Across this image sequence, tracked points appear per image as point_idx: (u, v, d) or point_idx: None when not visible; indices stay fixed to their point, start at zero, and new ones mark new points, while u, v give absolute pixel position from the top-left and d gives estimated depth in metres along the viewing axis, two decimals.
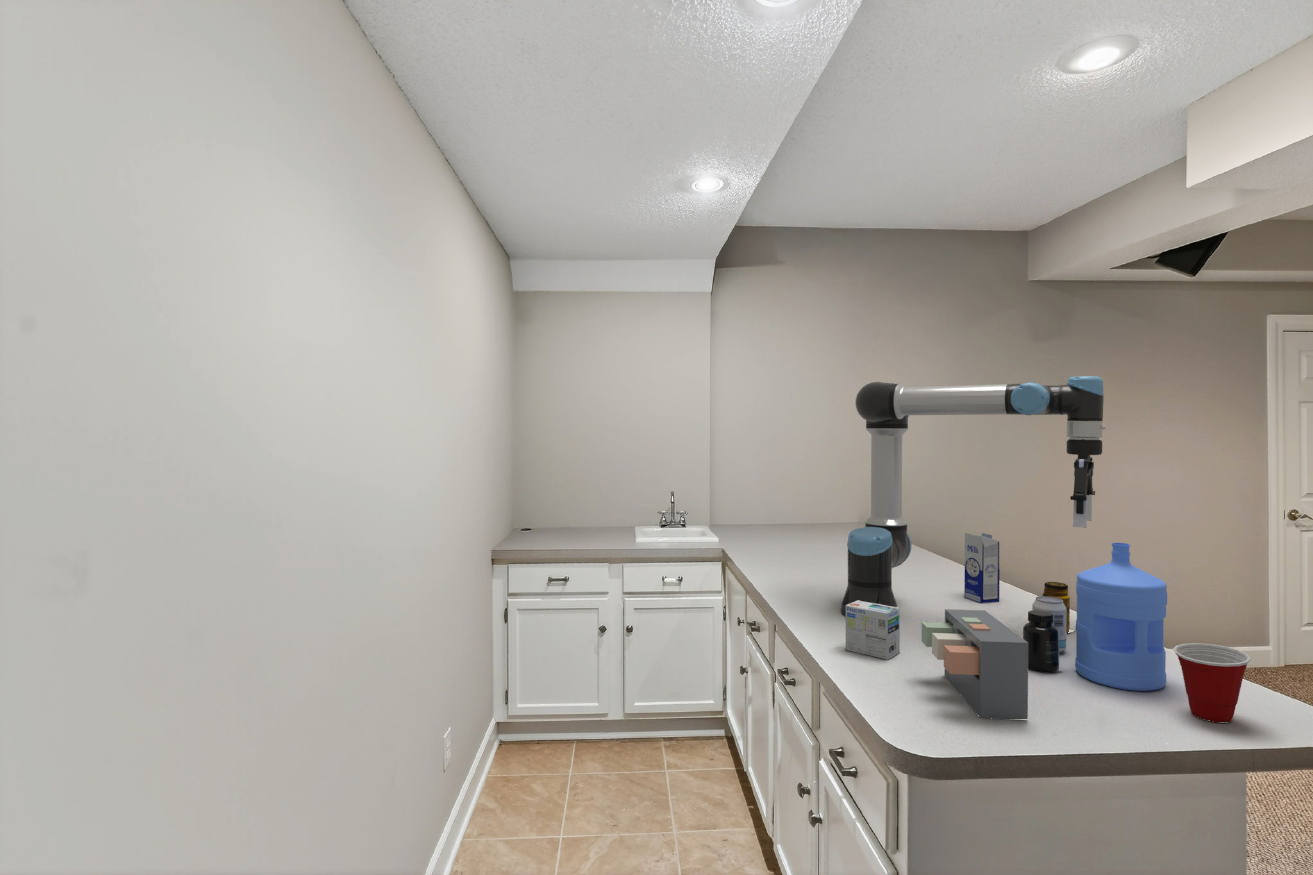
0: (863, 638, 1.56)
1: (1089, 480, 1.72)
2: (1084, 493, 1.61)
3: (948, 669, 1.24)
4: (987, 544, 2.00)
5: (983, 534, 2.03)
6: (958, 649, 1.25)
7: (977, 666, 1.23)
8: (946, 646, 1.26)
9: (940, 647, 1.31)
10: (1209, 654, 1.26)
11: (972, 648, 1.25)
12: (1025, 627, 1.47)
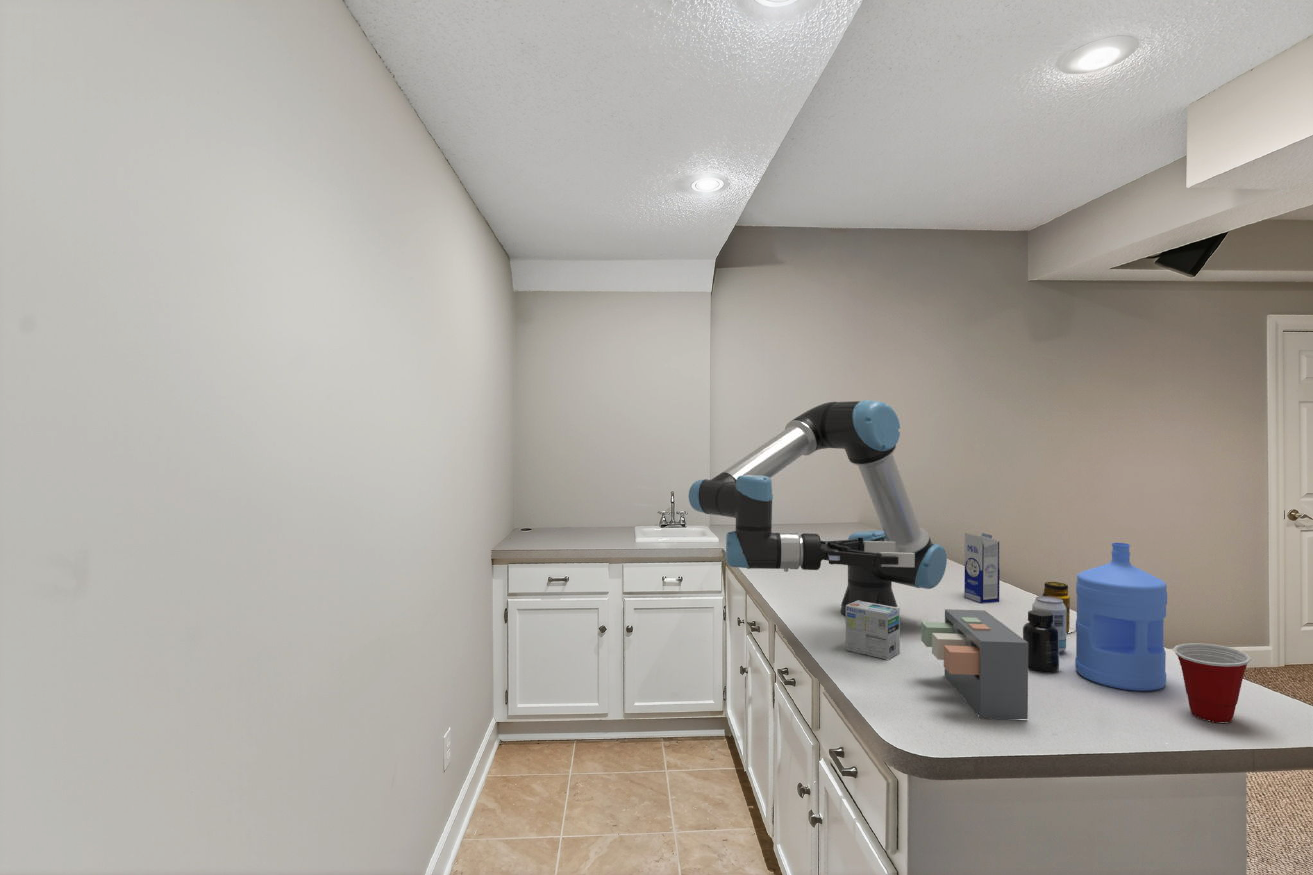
0: (863, 638, 1.56)
1: None
2: None
3: (948, 669, 1.24)
4: (987, 544, 1.99)
5: (983, 534, 2.03)
6: (958, 649, 1.25)
7: (977, 666, 1.23)
8: (946, 646, 1.26)
9: (940, 647, 1.31)
10: (1209, 654, 1.26)
11: (972, 648, 1.25)
12: (1025, 627, 1.47)
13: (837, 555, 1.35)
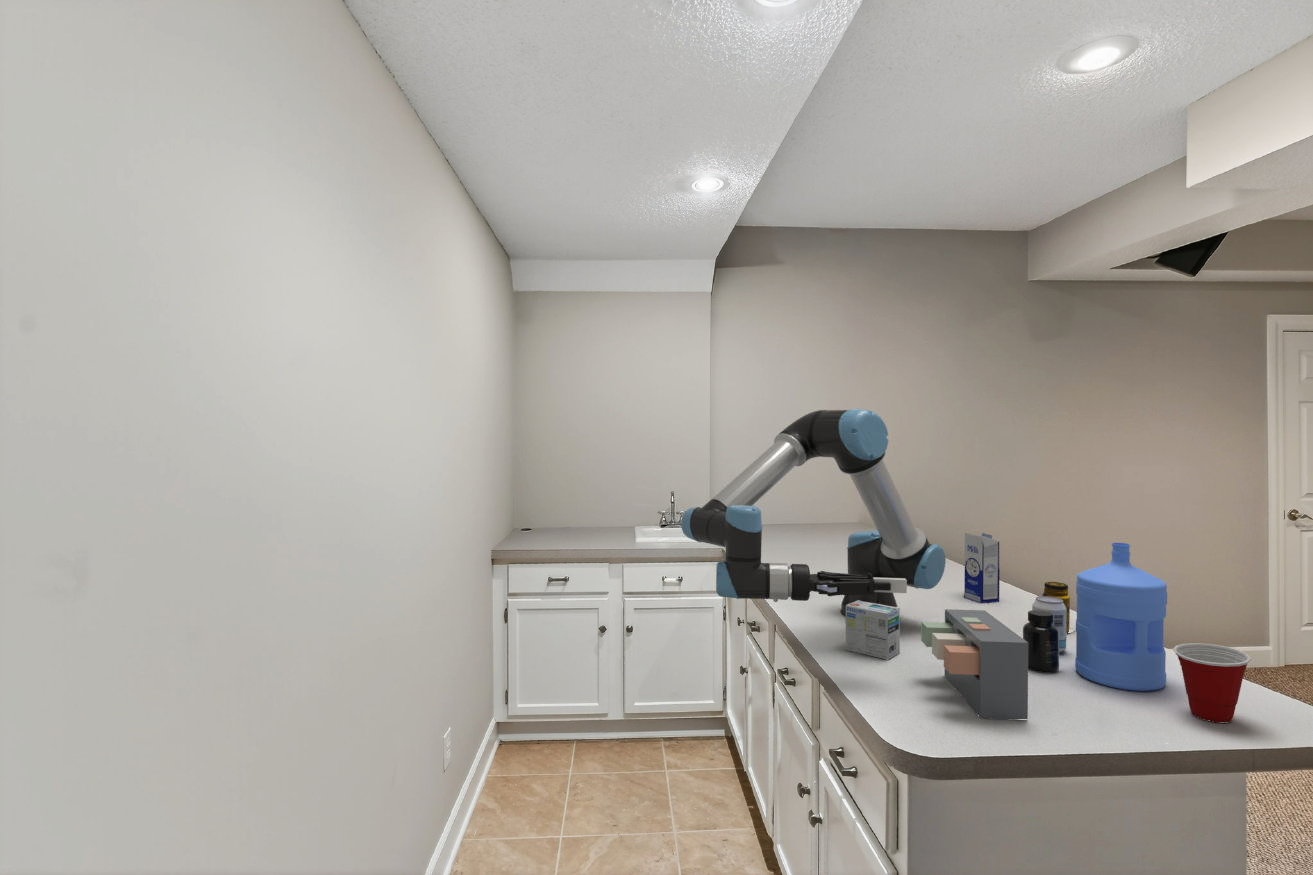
0: (863, 638, 1.56)
1: None
2: None
3: (948, 669, 1.24)
4: (987, 544, 1.99)
5: (983, 534, 2.03)
6: (958, 649, 1.25)
7: (977, 666, 1.23)
8: (946, 646, 1.26)
9: (940, 647, 1.31)
10: (1209, 654, 1.26)
11: (972, 648, 1.25)
12: (1025, 627, 1.47)
13: (836, 586, 1.36)
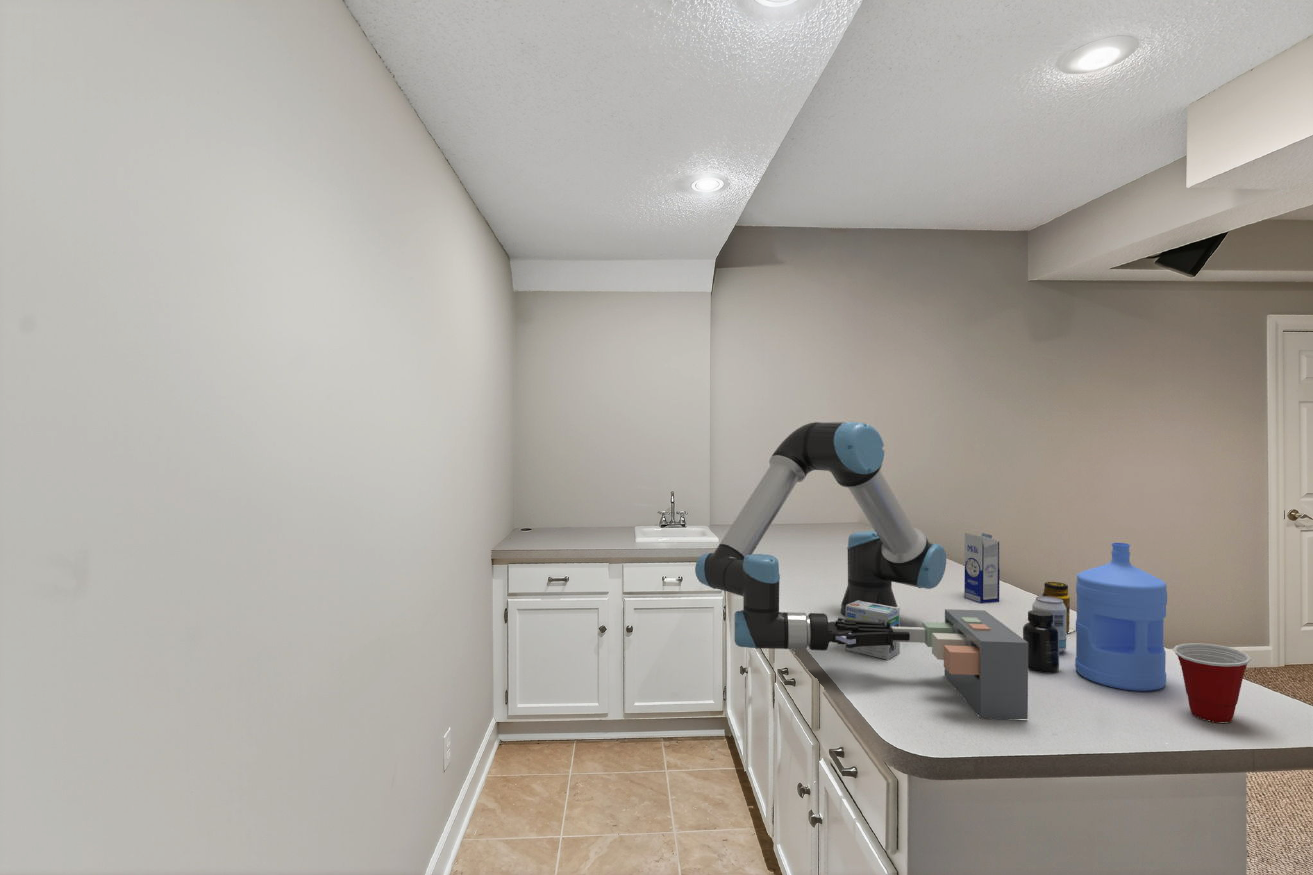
0: None
1: None
2: None
3: (948, 669, 1.24)
4: (987, 544, 1.99)
5: (983, 534, 2.03)
6: (958, 649, 1.25)
7: (977, 666, 1.23)
8: (946, 646, 1.26)
9: (940, 647, 1.31)
10: (1209, 654, 1.26)
11: (972, 648, 1.25)
12: (1025, 627, 1.47)
13: (855, 638, 1.36)
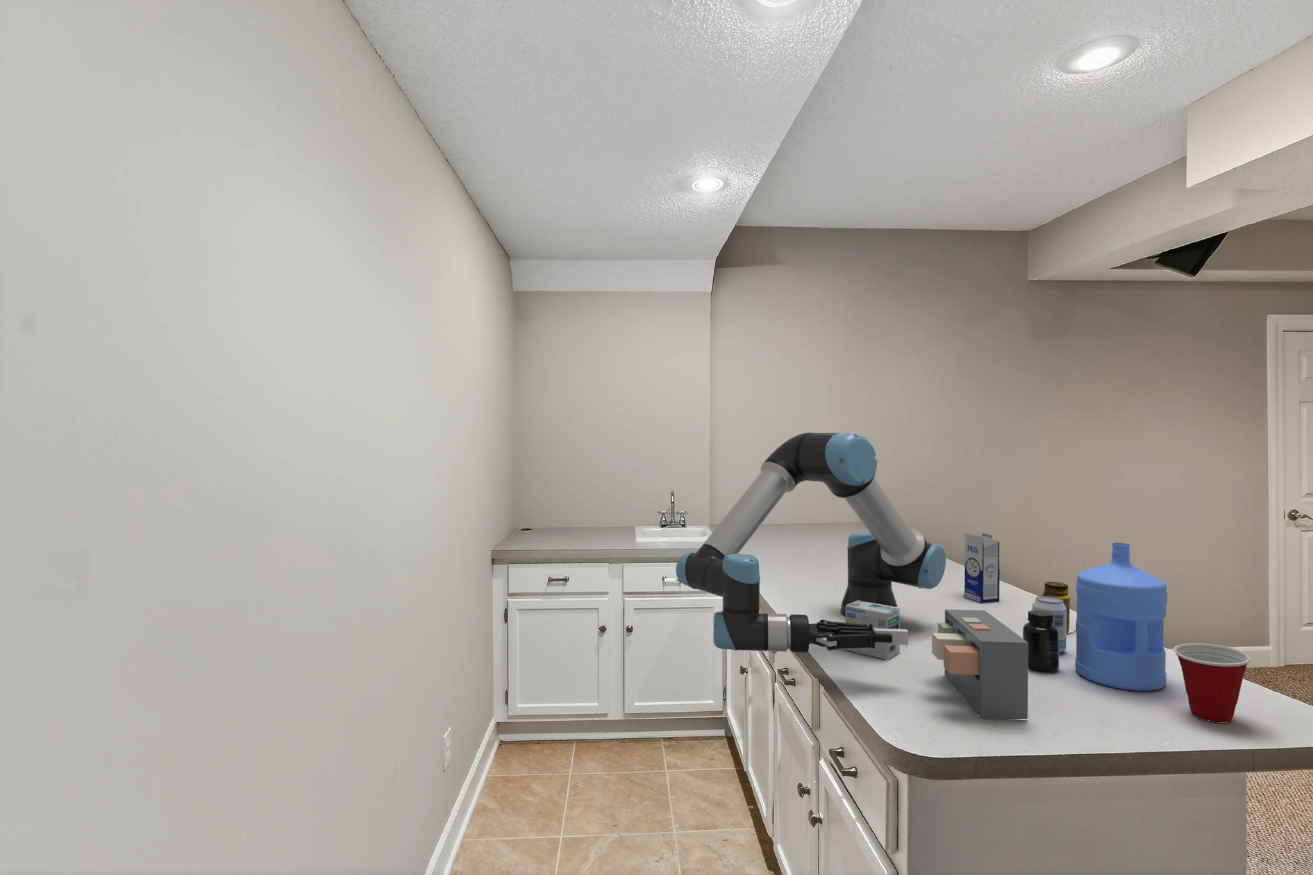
0: None
1: None
2: None
3: (948, 669, 1.24)
4: (987, 544, 1.99)
5: (983, 534, 2.03)
6: (958, 649, 1.25)
7: (977, 666, 1.23)
8: (946, 646, 1.26)
9: (940, 647, 1.31)
10: (1209, 654, 1.26)
11: (972, 648, 1.25)
12: (1025, 627, 1.47)
13: (835, 640, 1.33)
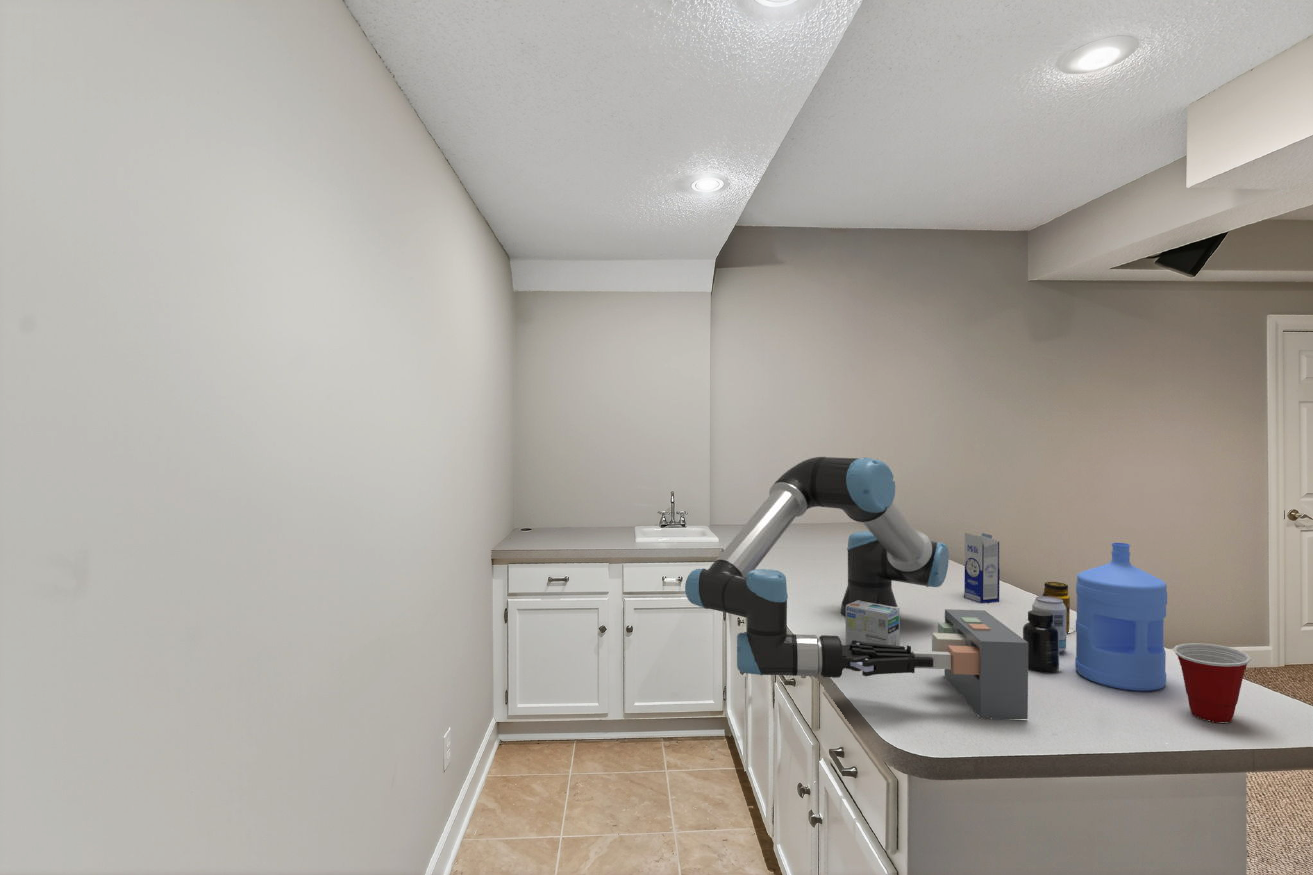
0: (863, 638, 1.56)
1: None
2: None
3: (952, 669, 1.24)
4: (987, 544, 2.00)
5: (983, 534, 2.03)
6: (962, 649, 1.25)
7: None
8: (949, 646, 1.26)
9: (940, 647, 1.31)
10: (1209, 654, 1.26)
11: (976, 648, 1.25)
12: (1025, 627, 1.47)
13: (872, 665, 1.21)
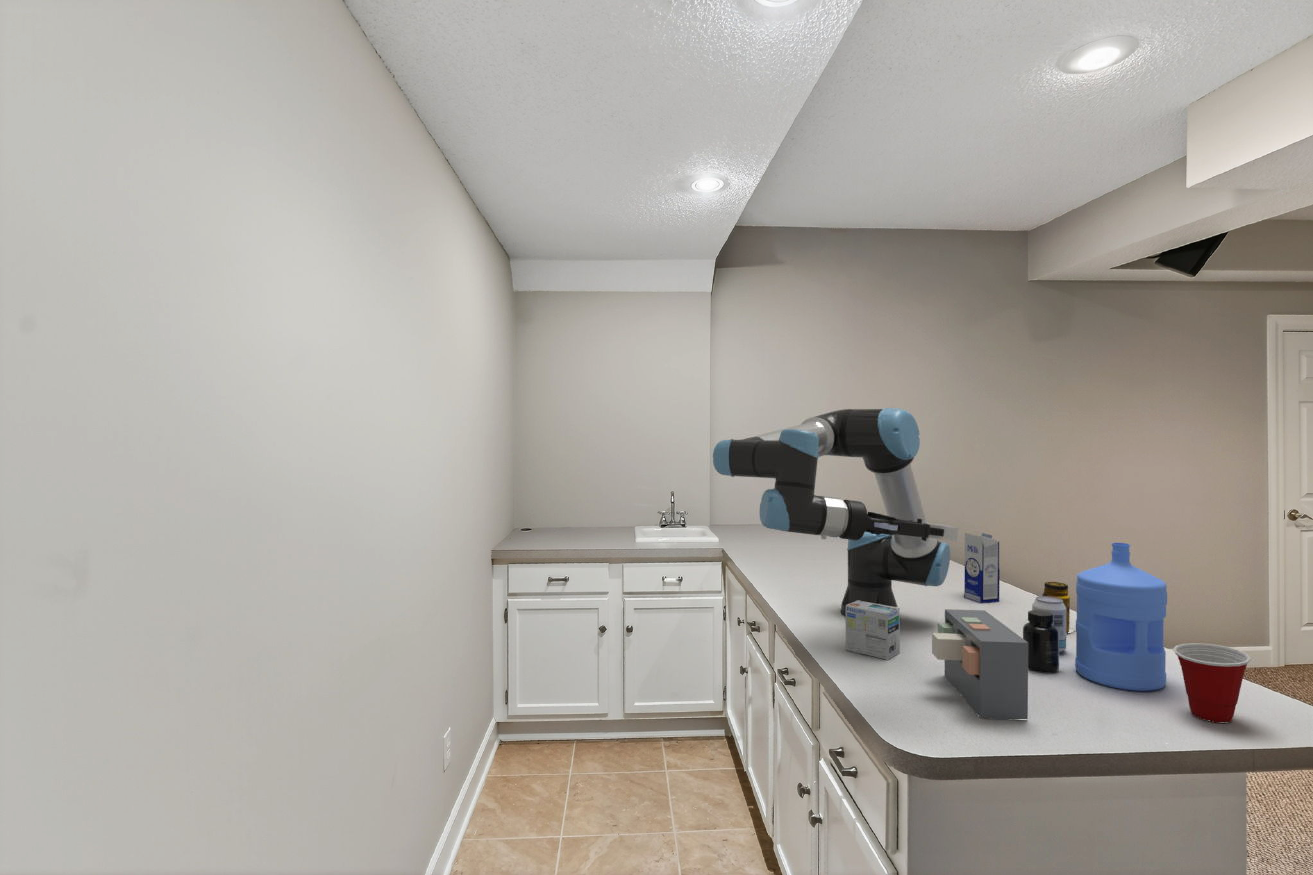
0: (863, 638, 1.56)
1: None
2: None
3: (967, 670, 1.24)
4: (987, 544, 1.99)
5: (983, 534, 2.03)
6: (977, 650, 1.24)
7: None
8: (964, 647, 1.26)
9: (940, 647, 1.31)
10: (1209, 654, 1.26)
11: None
12: (1025, 627, 1.47)
13: (897, 525, 1.26)
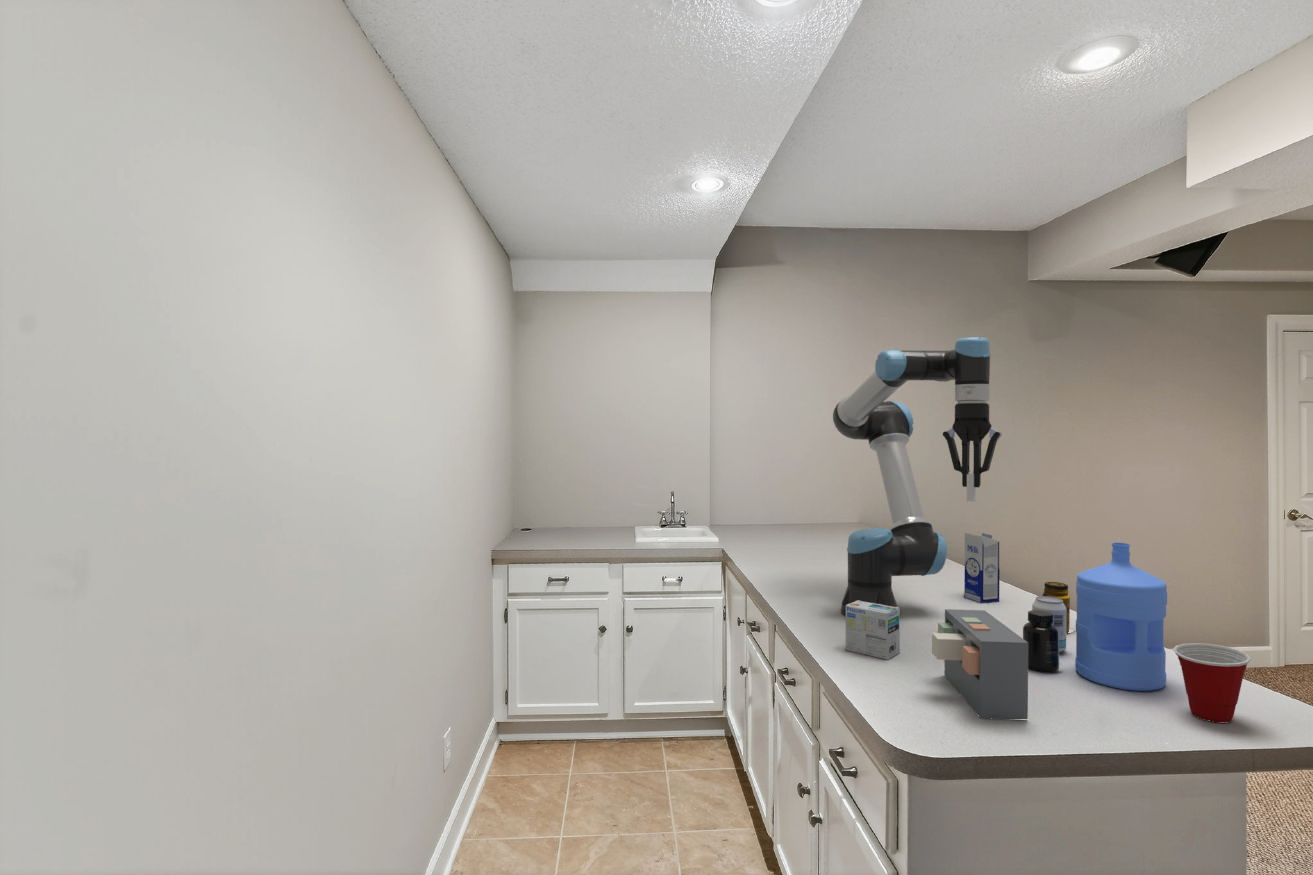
0: (863, 638, 1.56)
1: None
2: (953, 466, 1.64)
3: (967, 670, 1.24)
4: (987, 544, 2.00)
5: (983, 534, 2.03)
6: (977, 650, 1.24)
7: None
8: (964, 647, 1.26)
9: (940, 647, 1.31)
10: (1209, 654, 1.26)
11: None
12: (1025, 627, 1.47)
13: (997, 439, 1.60)
